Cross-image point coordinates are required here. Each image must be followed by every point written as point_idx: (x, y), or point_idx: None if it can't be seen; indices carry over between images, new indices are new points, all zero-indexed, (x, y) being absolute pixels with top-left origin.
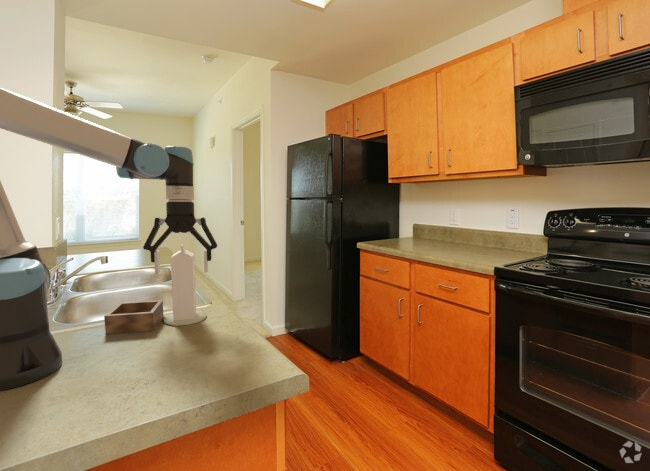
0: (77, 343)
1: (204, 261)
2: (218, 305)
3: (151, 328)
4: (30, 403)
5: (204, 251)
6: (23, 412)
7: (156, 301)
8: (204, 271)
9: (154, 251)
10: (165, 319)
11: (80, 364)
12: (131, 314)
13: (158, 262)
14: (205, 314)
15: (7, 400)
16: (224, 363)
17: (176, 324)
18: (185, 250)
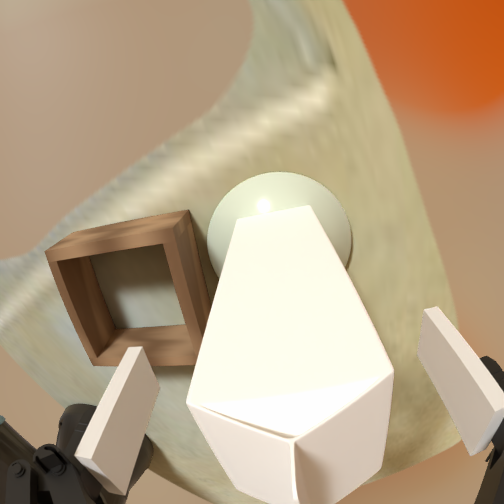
0: (96, 370)
1: (444, 401)
2: (369, 97)
3: None
4: (187, 481)
5: (472, 453)
6: (193, 488)
7: (155, 243)
8: (419, 359)
9: (99, 485)
10: (219, 268)
11: (170, 436)
12: (152, 365)
13: (134, 420)
14: (348, 228)
15: (158, 474)
16: (393, 439)
17: None
18: (324, 458)
